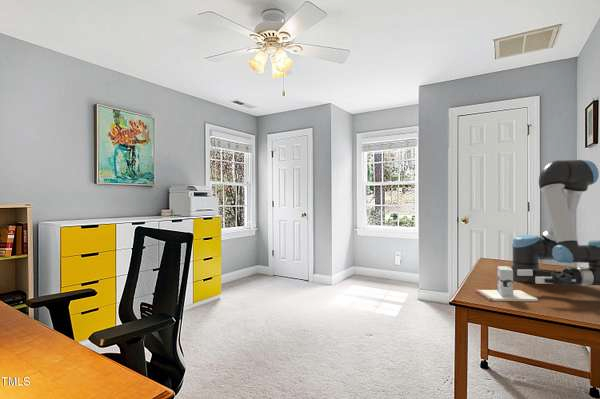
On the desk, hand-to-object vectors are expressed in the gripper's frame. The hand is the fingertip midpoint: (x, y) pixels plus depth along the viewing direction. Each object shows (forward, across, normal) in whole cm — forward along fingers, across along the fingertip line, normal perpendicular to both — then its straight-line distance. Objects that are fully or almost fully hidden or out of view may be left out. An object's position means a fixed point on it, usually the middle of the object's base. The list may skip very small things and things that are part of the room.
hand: (526, 276), depth 151 cm
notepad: (+9, 0, -9) cm, 13 cm away
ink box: (+9, 0, -8) cm, 12 cm away
